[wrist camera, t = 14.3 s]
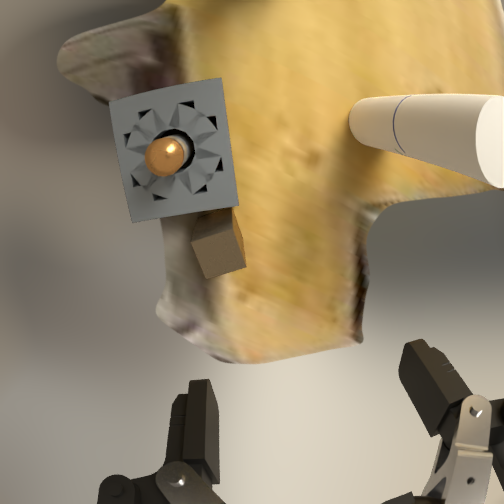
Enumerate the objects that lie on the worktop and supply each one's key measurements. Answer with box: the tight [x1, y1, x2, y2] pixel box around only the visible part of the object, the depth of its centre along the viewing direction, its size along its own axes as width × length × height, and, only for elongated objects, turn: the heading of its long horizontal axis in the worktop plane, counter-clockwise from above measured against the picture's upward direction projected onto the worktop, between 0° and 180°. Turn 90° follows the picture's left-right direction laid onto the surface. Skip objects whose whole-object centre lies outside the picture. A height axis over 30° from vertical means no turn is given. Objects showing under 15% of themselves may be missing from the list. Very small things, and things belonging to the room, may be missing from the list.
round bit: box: [145, 134, 193, 176], centre depth 34 cm, size 4×4×10 cm
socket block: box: [109, 78, 239, 223], centre depth 37 cm, size 16×14×4 cm
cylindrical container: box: [349, 94, 504, 188], centre depth 27 cm, size 7×7×25 cm
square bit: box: [191, 207, 246, 279], centre depth 39 cm, size 5×5×9 cm
